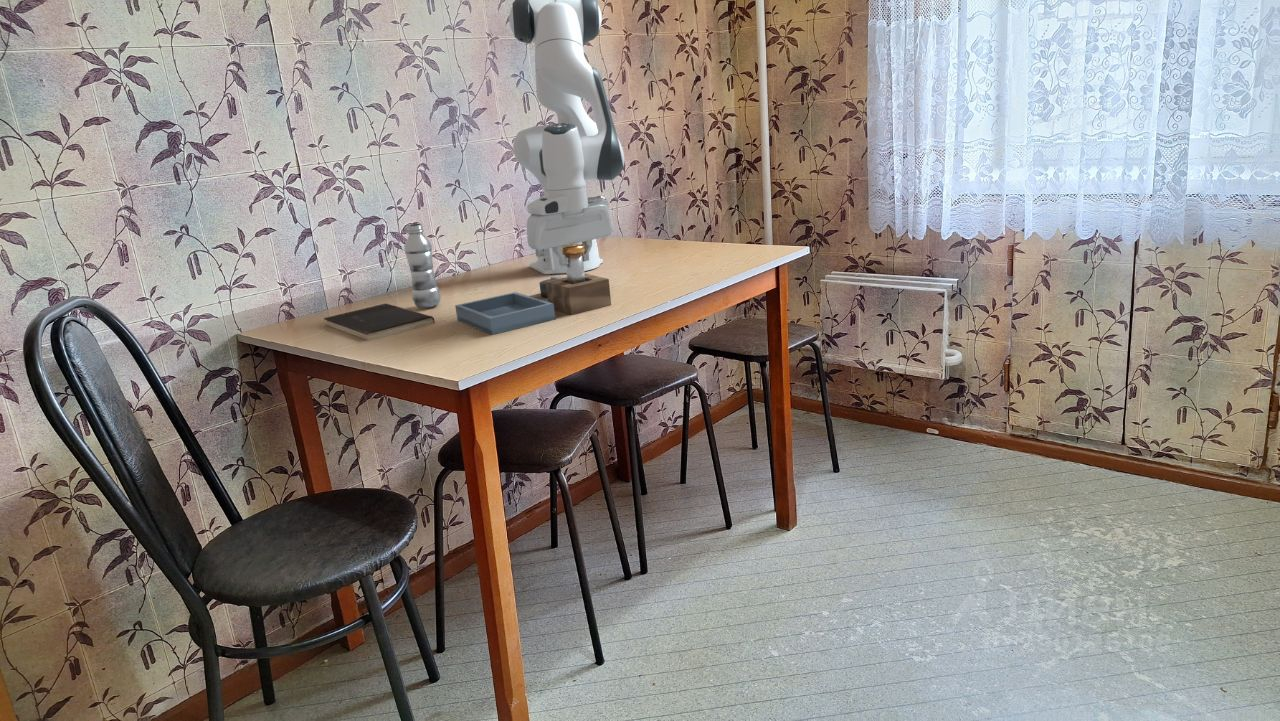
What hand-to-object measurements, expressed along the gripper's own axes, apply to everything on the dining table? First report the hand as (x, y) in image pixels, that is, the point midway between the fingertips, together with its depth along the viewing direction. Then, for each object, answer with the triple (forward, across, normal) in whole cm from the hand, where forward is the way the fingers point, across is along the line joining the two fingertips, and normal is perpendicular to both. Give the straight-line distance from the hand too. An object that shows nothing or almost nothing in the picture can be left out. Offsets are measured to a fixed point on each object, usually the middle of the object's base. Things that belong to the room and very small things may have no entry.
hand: (574, 263), depth 186 cm
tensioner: (+10, 0, -4) cm, 11 cm away
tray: (+10, +17, -3) cm, 20 cm away
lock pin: (+8, 0, 0) cm, 8 cm away
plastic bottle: (+10, +24, -31) cm, 41 cm away
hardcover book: (+11, +38, -25) cm, 47 cm away
